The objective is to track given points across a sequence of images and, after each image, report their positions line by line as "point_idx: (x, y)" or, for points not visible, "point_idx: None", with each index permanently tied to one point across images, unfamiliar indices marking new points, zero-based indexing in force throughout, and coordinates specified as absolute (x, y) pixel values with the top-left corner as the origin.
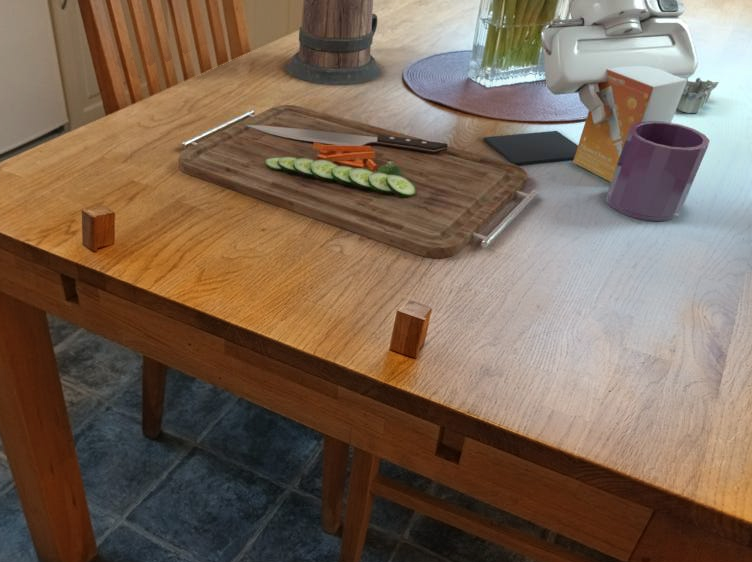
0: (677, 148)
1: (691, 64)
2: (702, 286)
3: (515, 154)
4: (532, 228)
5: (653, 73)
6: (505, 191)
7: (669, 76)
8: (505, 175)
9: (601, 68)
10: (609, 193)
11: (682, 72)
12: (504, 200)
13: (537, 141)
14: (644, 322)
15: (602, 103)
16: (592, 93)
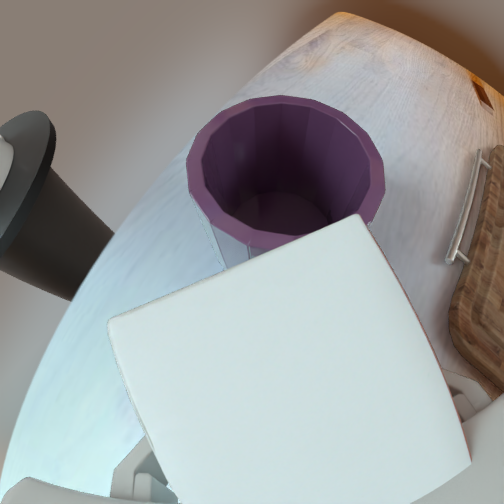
0: (300, 100)
1: (21, 498)
2: (288, 83)
3: None
4: (444, 184)
5: (265, 432)
6: (483, 246)
7: (180, 381)
8: (481, 307)
9: (491, 452)
10: None
11: (59, 490)
12: (482, 224)
13: None
14: (355, 63)
15: None
16: (470, 382)
